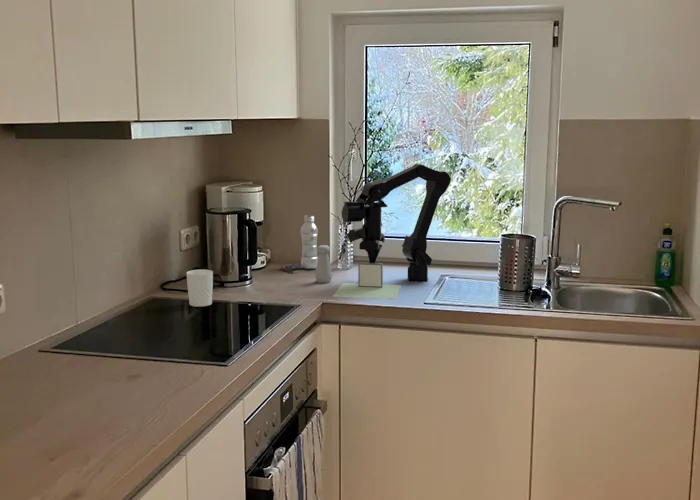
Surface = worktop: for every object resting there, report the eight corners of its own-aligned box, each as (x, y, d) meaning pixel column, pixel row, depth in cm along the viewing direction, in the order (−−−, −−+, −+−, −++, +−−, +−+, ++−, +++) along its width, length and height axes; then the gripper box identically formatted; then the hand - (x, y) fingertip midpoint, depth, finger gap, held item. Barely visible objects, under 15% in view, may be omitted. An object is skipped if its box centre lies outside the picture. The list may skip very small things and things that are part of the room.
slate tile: (382, 286, 252) (382, 263, 251) (382, 287, 250) (382, 264, 249) (359, 285, 253) (359, 262, 252) (358, 286, 252) (358, 263, 250)
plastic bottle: (318, 270, 280) (318, 217, 277) (300, 270, 280) (299, 217, 277) (319, 267, 287) (318, 215, 283) (301, 267, 287) (301, 215, 283)
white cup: (185, 302, 232) (184, 270, 230) (210, 300, 235) (209, 268, 233) (190, 308, 224) (189, 275, 223) (216, 305, 228) (215, 273, 226)
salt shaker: (331, 284, 257) (331, 247, 254) (314, 284, 257) (314, 247, 254) (332, 281, 262) (332, 244, 260) (315, 280, 262) (315, 244, 260)
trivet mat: (401, 286, 254) (401, 285, 254) (395, 300, 235) (395, 299, 235) (343, 284, 257) (343, 283, 257) (332, 297, 238) (332, 296, 238)
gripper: (353, 216, 263) (353, 260, 266) (344, 223, 245) (344, 270, 247) (385, 217, 261) (384, 261, 264) (378, 224, 243) (377, 272, 246)
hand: (372, 266), depth 255 cm, fingers closed
